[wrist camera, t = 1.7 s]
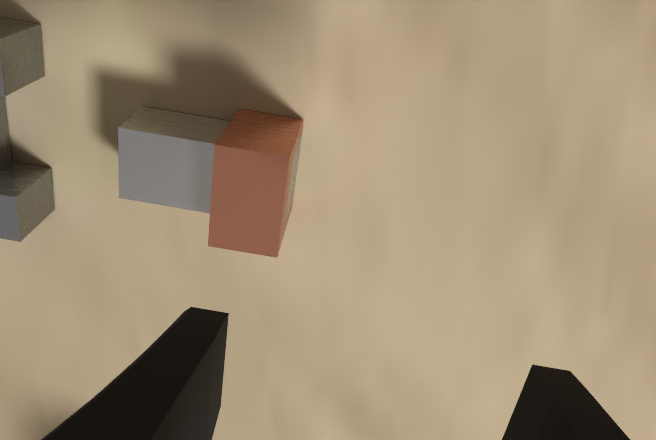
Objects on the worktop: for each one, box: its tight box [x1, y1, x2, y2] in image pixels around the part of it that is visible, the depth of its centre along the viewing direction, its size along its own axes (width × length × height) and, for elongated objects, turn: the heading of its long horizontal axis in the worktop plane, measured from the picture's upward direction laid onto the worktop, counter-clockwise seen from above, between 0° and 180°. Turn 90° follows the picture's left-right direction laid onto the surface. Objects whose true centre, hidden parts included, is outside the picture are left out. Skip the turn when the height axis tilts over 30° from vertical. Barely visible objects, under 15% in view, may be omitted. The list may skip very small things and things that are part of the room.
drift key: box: [118, 107, 303, 257], centre depth 16 cm, size 3×4×3 cm, turn 81°
